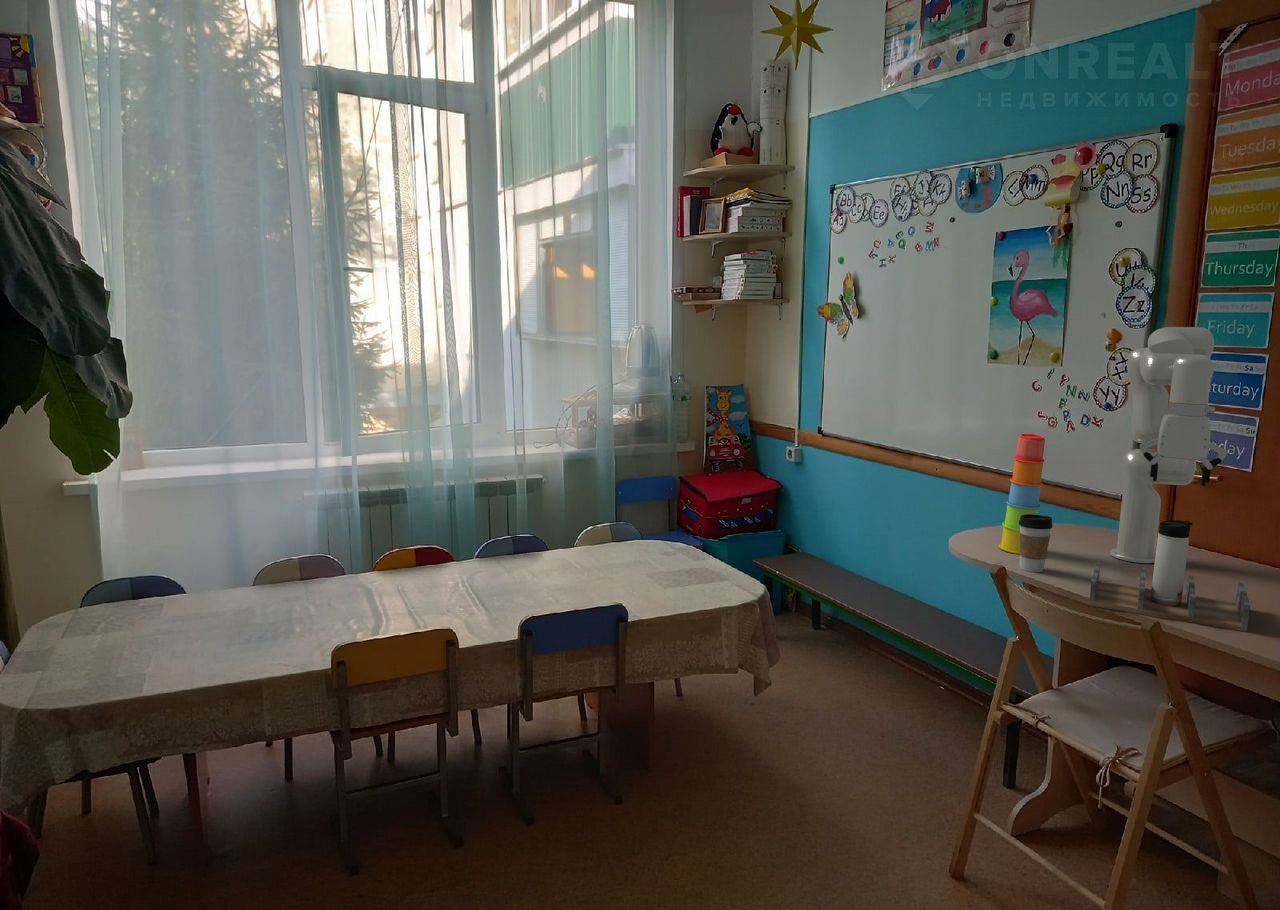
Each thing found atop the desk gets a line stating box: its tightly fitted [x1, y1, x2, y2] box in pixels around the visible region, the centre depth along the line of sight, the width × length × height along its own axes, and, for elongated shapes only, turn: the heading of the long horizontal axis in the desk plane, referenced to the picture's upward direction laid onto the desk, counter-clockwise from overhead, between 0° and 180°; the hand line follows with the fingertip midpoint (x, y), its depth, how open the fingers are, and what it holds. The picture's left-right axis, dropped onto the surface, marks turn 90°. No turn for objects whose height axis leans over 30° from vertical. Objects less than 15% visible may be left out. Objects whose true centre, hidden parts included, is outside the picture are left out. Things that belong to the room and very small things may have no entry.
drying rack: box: [1088, 561, 1251, 633], centre depth 200 cm, size 18×31×6 cm, turn 58°
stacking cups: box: [998, 433, 1046, 555], centre depth 244 cm, size 10×10×35 cm
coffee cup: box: [1019, 514, 1053, 573], centre depth 228 cm, size 8×8×15 cm
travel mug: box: [1151, 519, 1193, 606], centre depth 198 cm, size 6×7×20 cm
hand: (1178, 482), depth 196 cm, fingers open, 9 cm apart
